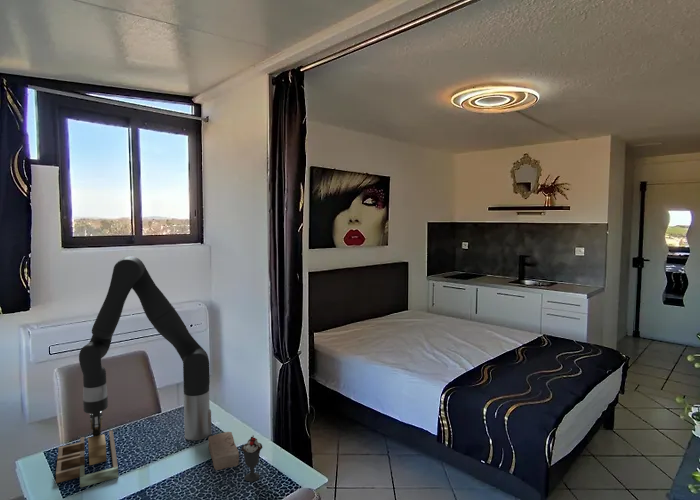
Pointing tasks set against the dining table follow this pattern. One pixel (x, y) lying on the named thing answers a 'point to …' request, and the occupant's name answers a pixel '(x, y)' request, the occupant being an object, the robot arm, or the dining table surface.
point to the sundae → (251, 457)
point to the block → (97, 449)
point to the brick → (223, 451)
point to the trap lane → (74, 459)
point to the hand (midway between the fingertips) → (97, 442)
